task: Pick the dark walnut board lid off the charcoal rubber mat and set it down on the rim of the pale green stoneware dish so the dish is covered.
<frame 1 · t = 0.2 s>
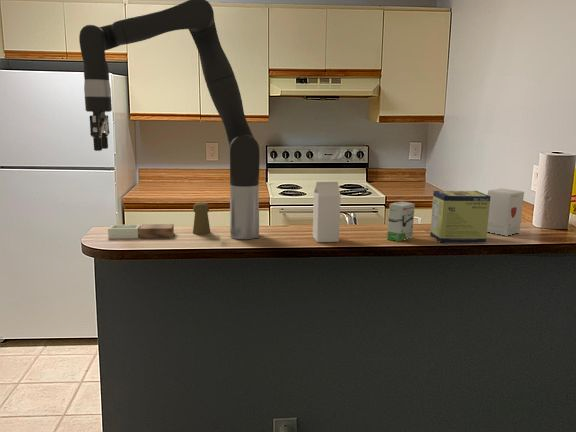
hand: (101, 149, 161), 28 cm above the table, tool pointing down, fingers open, 8 cm apart
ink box: (399, 239, 173), on the table
protein box: (457, 239, 174), on the table
cork: (201, 236, 173), on the table
dish: (125, 238, 167), on the table
supplement box: (501, 233, 184), on the table
mat: (157, 238, 168), on the table
lid: (157, 235, 168), point 1 cm above the table, touching mat
milk carton: (325, 240, 170), on the table
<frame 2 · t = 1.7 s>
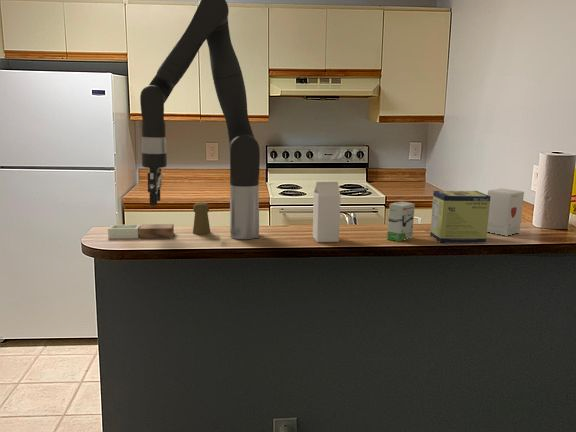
hand: (155, 203, 166), 12 cm above the table, tool pointing down, fingers open, 8 cm apart
nothing on the table moved.
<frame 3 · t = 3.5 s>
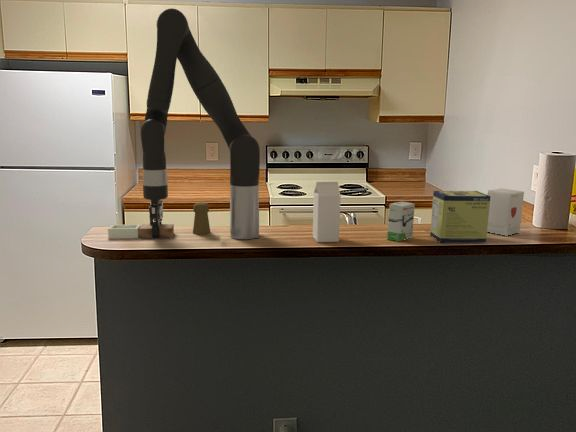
hand: (157, 235, 168), 1 cm above the table, tool pointing down, fingers closed on lid, 6 cm apart
lid: (157, 235, 168), point 1 cm above the table, touching gripper, mat
everything else where it was.
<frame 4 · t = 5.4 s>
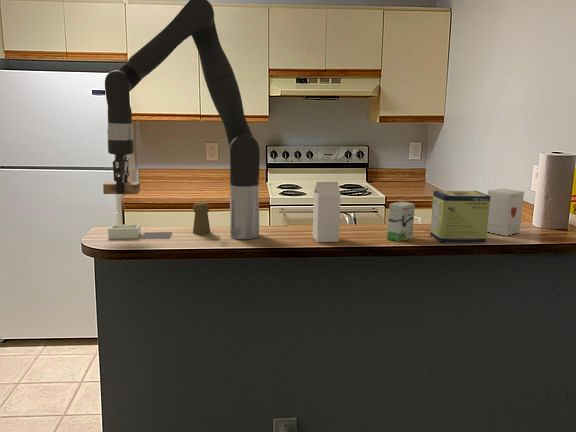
hand: (122, 192, 164), 15 cm above the table, tool pointing down, fingers closed on lid, 6 cm apart
lid: (122, 192, 164), point 15 cm above the table, touching gripper
everything else where it was.
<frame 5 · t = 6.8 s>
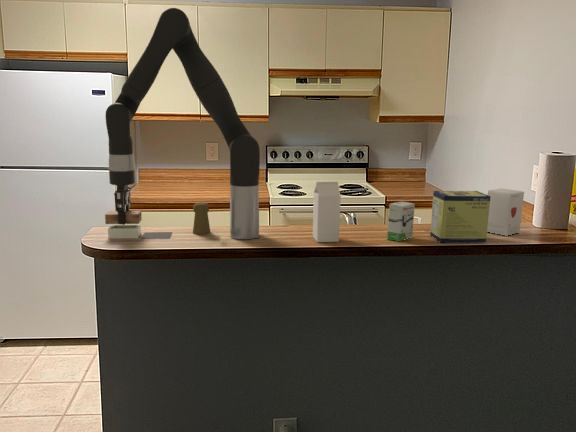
hand: (124, 221, 166), 6 cm above the table, tool pointing down, fingers closed on lid, 6 cm apart
lid: (123, 221, 166), point 6 cm above the table, touching gripper
everything else where it was.
when the fingers open (5 cm above the table, at t = 7.7 s): lid drops 1 cm, resting on dish.
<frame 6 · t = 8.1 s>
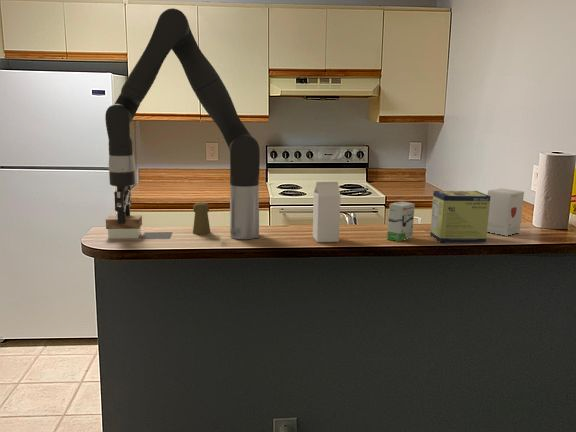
hand: (124, 220, 166), 6 cm above the table, tool pointing down, fingers open, 8 cm apart
lid: (124, 226, 166), point 4 cm above the table, touching dish
everything else where it was.
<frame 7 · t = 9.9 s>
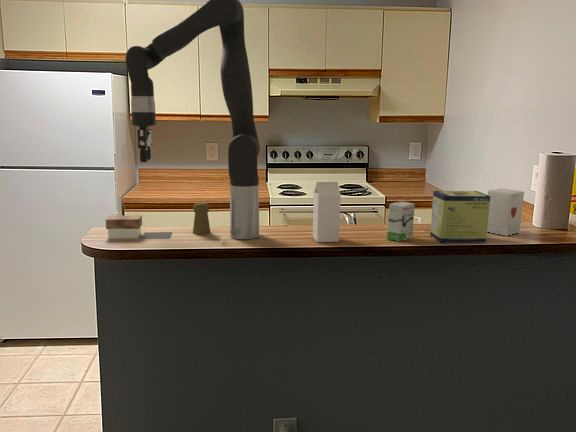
hand: (145, 160, 173), 24 cm above the table, tool pointing down, fingers open, 8 cm apart
nothing on the table moved.
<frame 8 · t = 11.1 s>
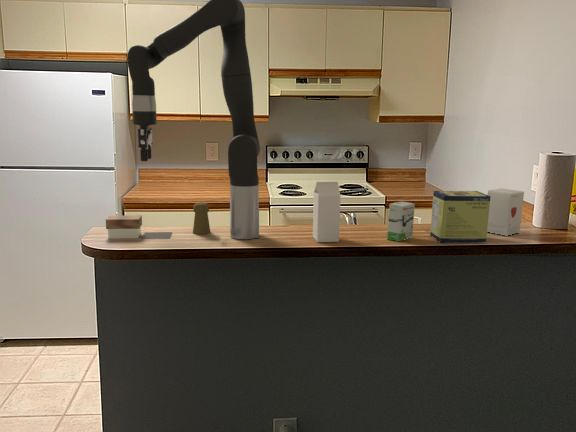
hand: (146, 159, 174), 24 cm above the table, tool pointing down, fingers open, 8 cm apart
nothing on the table moved.
at the end: lid 0.0 cm off-centre on the dish, point 4.0 cm above the dish's base; lid touching dish; the gripper is holding nothing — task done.
